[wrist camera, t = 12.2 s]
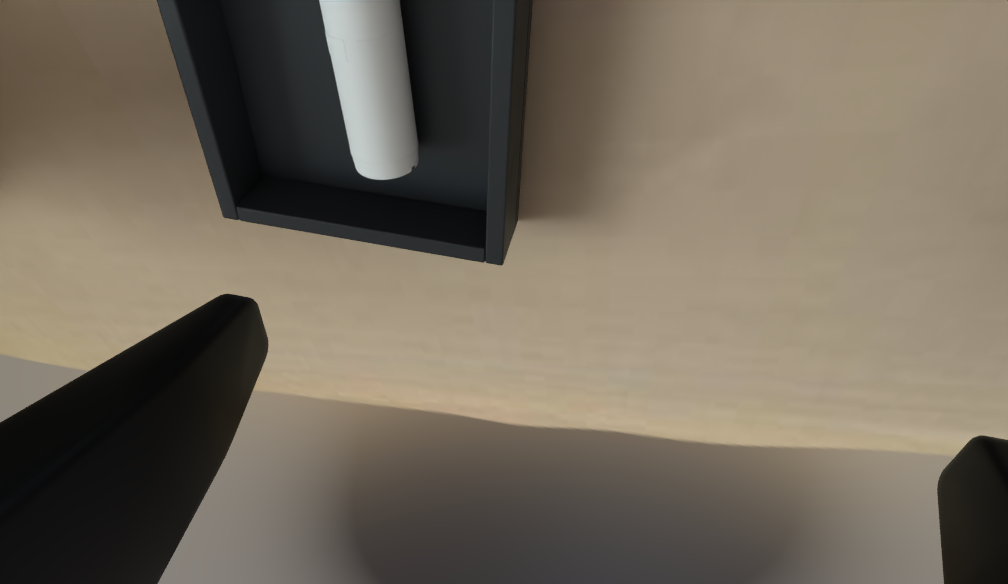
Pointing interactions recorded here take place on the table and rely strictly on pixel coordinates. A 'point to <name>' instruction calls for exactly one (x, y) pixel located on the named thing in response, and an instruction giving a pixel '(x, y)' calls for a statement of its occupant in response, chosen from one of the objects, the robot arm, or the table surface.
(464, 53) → the pen tray
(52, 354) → the table surface
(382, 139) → the white model rocket
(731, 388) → the table surface
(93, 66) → the table surface
